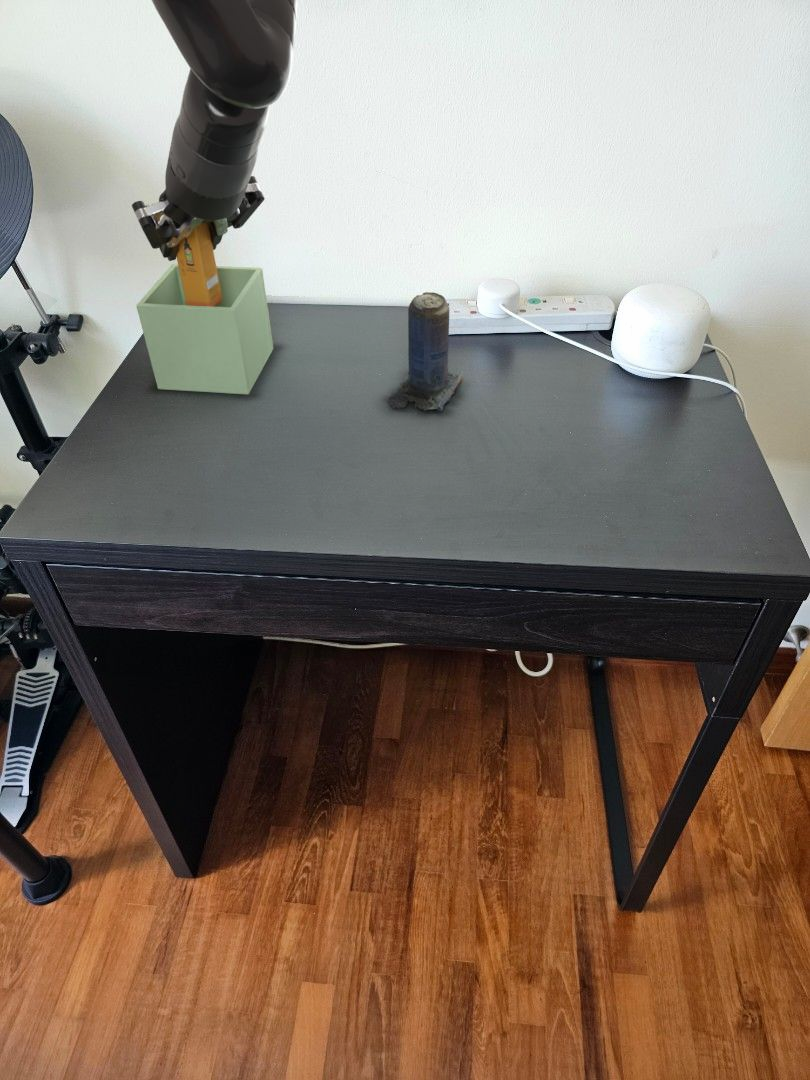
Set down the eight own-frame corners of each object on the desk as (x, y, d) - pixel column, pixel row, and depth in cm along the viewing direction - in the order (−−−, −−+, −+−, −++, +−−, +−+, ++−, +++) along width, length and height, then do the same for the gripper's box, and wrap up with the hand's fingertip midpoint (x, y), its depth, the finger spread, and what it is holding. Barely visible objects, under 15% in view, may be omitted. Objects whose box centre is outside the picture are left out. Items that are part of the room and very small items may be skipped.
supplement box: (225, 299, 93) (209, 212, 86) (210, 312, 90) (193, 223, 83) (200, 296, 93) (182, 209, 87) (185, 308, 91) (165, 220, 84)
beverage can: (451, 417, 88) (454, 317, 80) (384, 410, 90) (381, 310, 82) (464, 376, 95) (468, 280, 87) (402, 370, 96) (400, 274, 88)
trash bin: (248, 394, 93) (234, 309, 86) (157, 389, 94) (135, 305, 87) (273, 348, 101) (262, 267, 94) (189, 344, 102) (172, 264, 95)
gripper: (264, 108, 76) (232, 203, 92) (120, 135, 70) (112, 231, 86) (296, 180, 76) (259, 263, 92) (155, 212, 71) (141, 294, 86)
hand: (188, 247), depth 89 cm, fingers closed on supplement box, 4 cm apart
